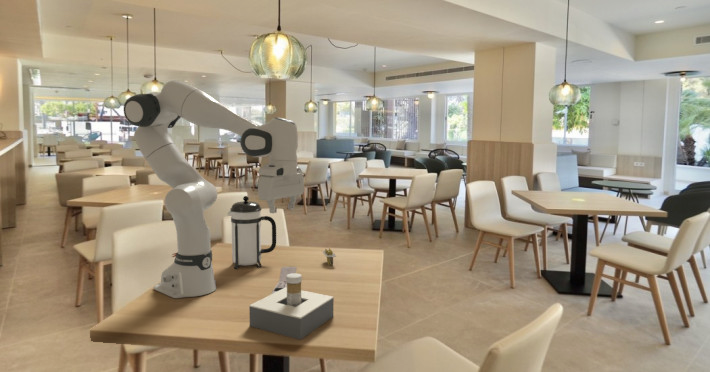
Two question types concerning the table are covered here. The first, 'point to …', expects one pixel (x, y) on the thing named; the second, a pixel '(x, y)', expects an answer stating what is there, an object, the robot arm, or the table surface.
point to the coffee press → (248, 233)
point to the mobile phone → (284, 278)
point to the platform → (329, 256)
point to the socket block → (291, 313)
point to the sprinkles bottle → (294, 289)
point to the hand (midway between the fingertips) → (282, 210)
